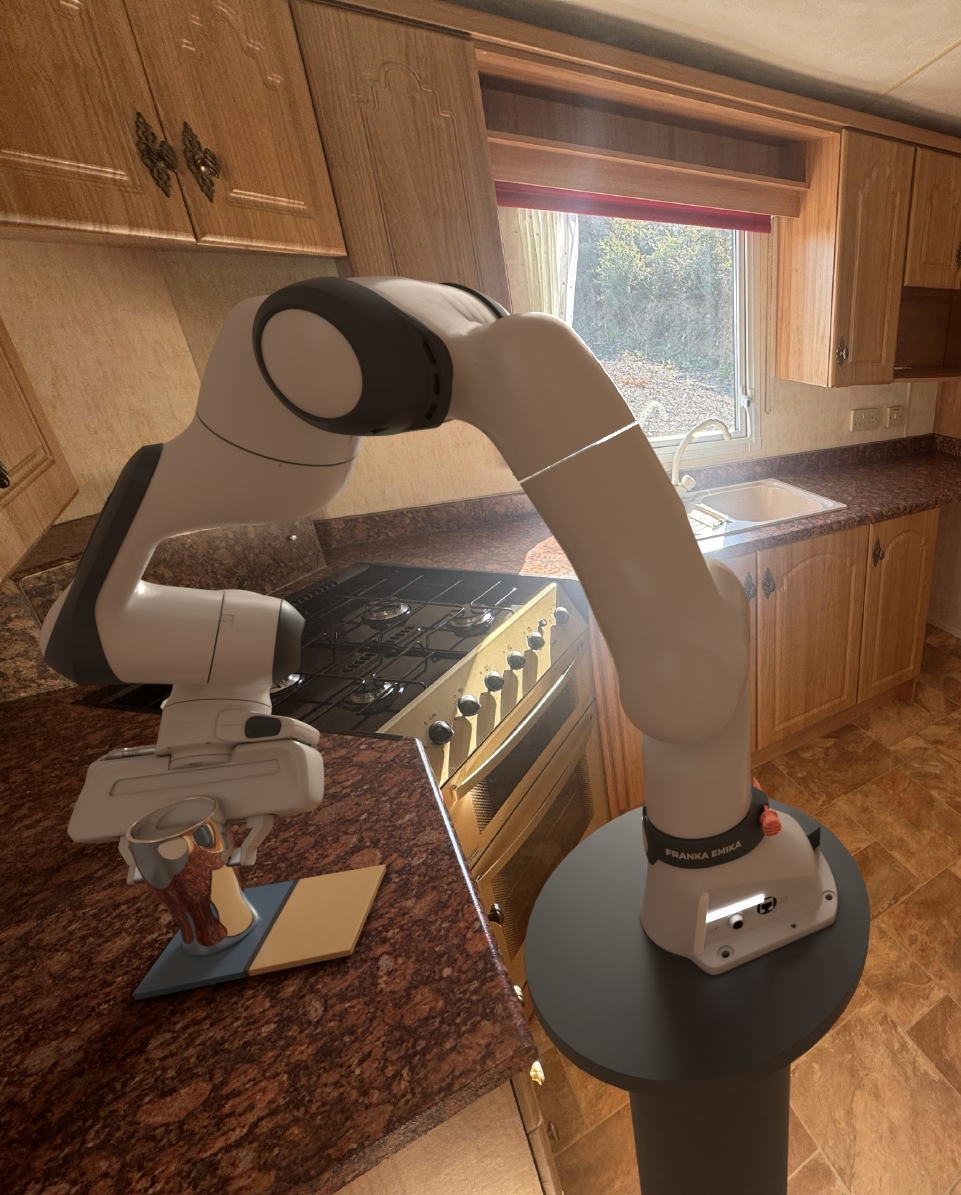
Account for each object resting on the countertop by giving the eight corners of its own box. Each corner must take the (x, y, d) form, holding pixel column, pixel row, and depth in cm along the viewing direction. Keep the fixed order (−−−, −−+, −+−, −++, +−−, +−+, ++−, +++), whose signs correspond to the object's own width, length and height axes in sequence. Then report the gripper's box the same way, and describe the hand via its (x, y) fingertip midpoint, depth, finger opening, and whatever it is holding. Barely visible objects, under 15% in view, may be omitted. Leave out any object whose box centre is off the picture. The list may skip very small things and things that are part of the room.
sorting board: (386, 868, 75) (385, 863, 75) (351, 955, 64) (349, 949, 64) (205, 901, 70) (202, 895, 70) (134, 1000, 60) (131, 994, 59)
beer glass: (274, 896, 70) (233, 787, 64) (250, 948, 64) (201, 833, 58) (196, 914, 68) (146, 803, 62) (163, 970, 62) (104, 852, 56)
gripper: (68, 745, 62) (30, 897, 57) (310, 717, 67) (295, 853, 62) (116, 757, 67) (86, 896, 62) (336, 730, 73) (324, 855, 68)
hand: (193, 874), depth 62 cm, fingers closed on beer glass, 7 cm apart
